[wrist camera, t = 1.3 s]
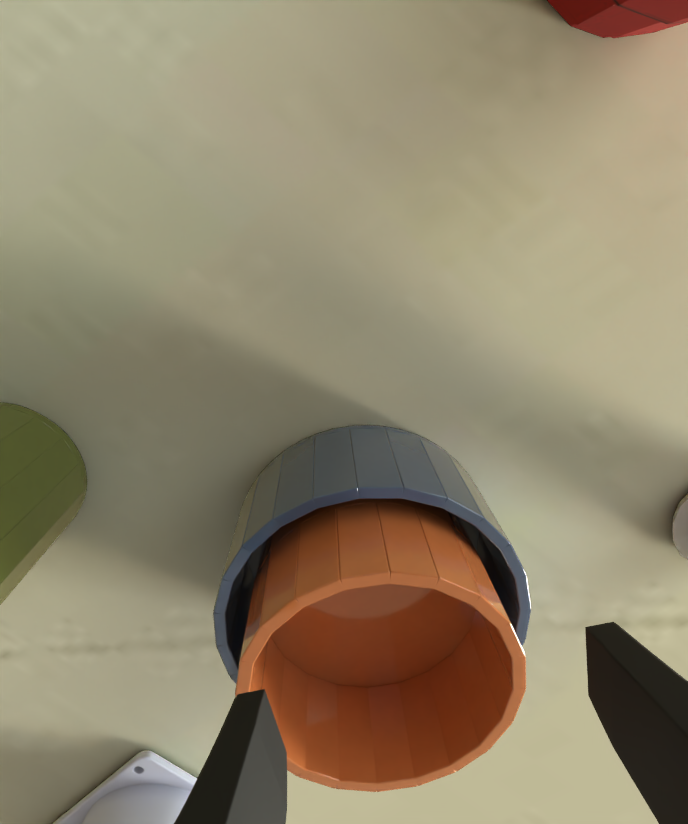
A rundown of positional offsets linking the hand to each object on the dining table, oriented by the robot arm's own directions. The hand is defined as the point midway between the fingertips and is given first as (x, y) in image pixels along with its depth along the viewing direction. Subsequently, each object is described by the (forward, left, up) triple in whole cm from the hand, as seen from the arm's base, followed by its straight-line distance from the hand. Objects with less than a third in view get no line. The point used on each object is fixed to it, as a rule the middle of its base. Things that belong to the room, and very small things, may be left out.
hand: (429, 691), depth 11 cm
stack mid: (-2, -1, -10) cm, 10 cm away
